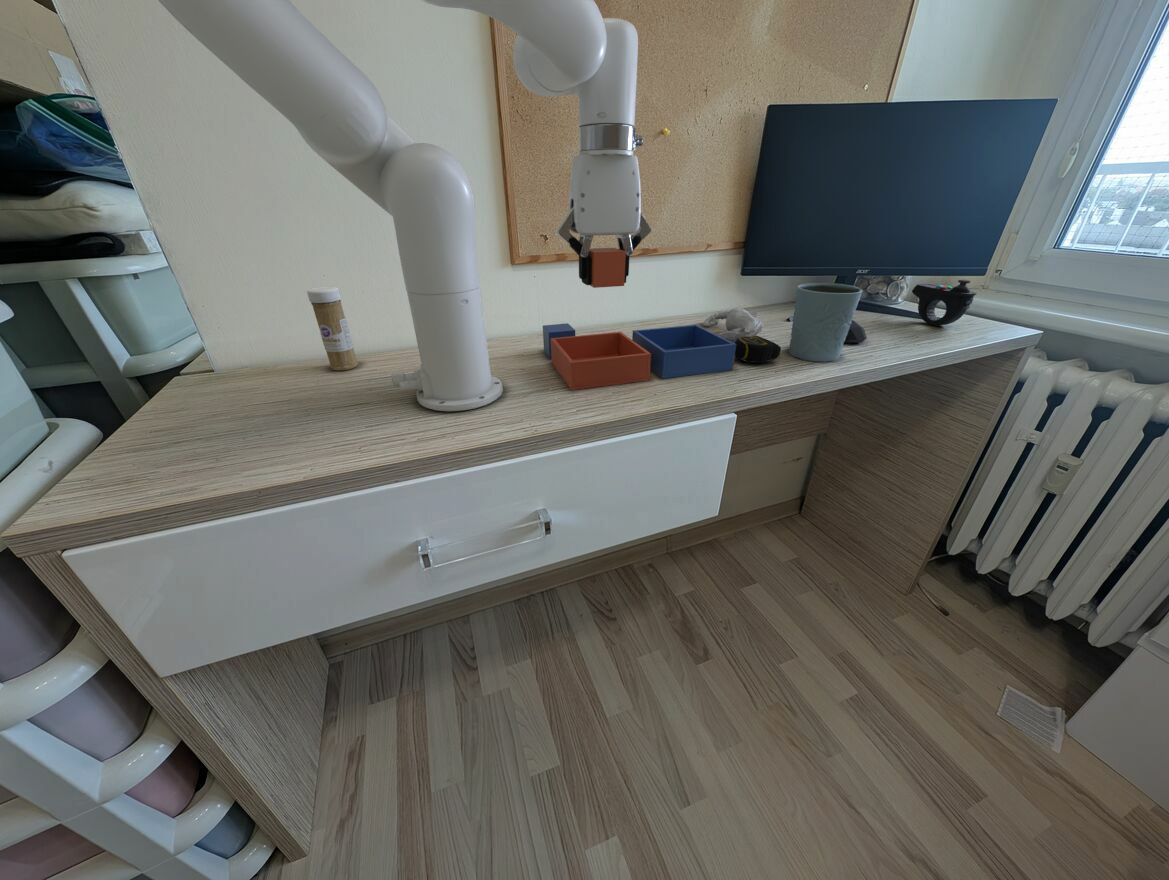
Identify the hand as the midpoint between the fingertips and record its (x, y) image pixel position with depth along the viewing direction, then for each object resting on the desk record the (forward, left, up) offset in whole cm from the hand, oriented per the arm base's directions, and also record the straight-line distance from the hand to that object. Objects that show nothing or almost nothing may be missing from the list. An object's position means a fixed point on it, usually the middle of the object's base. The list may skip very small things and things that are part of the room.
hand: (603, 281), depth 69 cm
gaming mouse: (+53, +4, -15) cm, 55 cm away
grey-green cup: (+40, -5, -15) cm, 43 cm away
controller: (+81, +4, -15) cm, 82 cm away
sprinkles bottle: (-43, +15, -15) cm, 48 cm away
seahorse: (+33, +11, -15) cm, 37 cm away
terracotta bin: (-1, -1, -14) cm, 15 cm away
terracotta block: (0, 0, 0) cm, 0 cm away
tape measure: (+28, -4, -15) cm, 32 cm away
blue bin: (+14, -1, -14) cm, 20 cm away
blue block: (-5, +10, -14) cm, 18 cm away
